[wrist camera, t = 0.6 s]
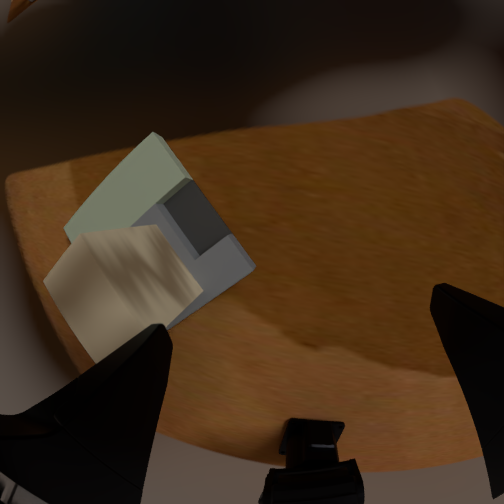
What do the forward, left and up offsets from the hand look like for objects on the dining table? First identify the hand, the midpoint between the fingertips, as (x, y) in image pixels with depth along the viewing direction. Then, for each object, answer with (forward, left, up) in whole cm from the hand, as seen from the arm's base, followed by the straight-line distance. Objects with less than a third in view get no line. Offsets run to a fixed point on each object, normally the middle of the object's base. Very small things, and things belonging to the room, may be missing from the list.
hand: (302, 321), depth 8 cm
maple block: (-4, +11, -14) cm, 18 cm away
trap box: (-1, +13, -16) cm, 21 cm away
